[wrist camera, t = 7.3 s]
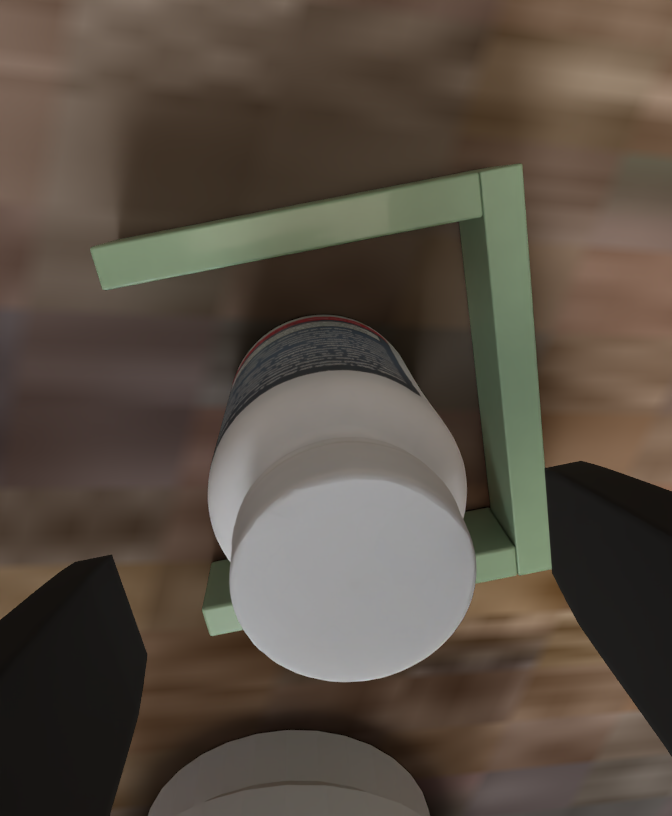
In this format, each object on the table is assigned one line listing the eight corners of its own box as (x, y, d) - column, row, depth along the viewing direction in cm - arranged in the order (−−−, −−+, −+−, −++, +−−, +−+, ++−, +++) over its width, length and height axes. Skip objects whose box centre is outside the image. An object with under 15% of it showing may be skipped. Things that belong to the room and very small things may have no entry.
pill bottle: (193, 385, 18) (108, 561, 9) (341, 273, 17) (392, 354, 9) (306, 514, 19) (320, 762, 11) (445, 417, 19) (573, 603, 10)
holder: (218, 587, 20) (209, 637, 18) (116, 239, 16) (88, 247, 14) (523, 526, 20) (553, 569, 18) (490, 166, 16) (523, 162, 14)
